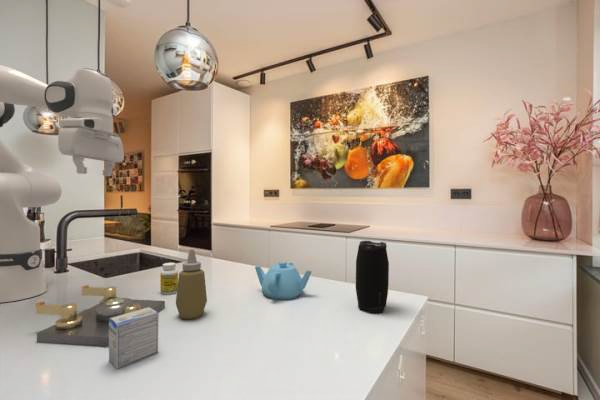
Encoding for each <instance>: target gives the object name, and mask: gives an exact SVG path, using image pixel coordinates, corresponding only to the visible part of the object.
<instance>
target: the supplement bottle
mask: <svg viewBox="0 0 600 400" xmlns="http://www.w3.org/2000/svg"><path fill="white" fill-rule="evenodd" d="M178 271H179V270H178V269H177V267H176V262H164V263H163V264H162V270H161V271H160V293H161V295H165V296H166V295H174V294H177V287H178V278H179V272H178Z"/></svg>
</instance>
